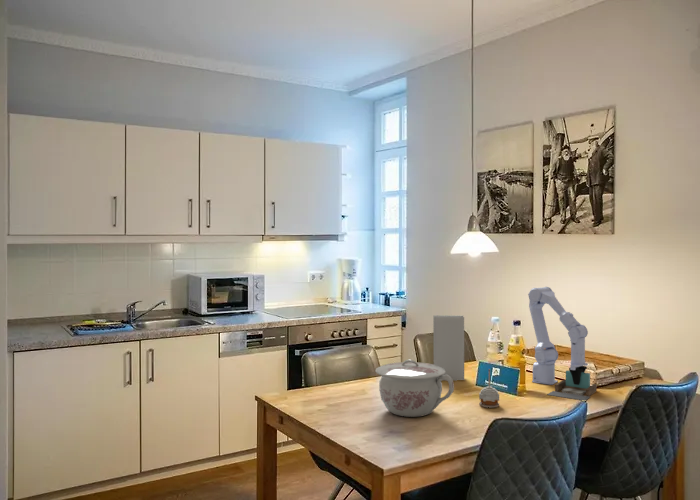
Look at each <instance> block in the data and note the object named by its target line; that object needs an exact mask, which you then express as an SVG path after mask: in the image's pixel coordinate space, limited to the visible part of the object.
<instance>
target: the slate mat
mask: <svg viewBox="0 0 700 500" xmlns="http://www.w3.org/2000/svg"><path fill="white" fill-rule="evenodd" d="M546 395H547V396H552V397H557V398H563V399H569V400H577V401H582V400H586V401H588V400H589V399H591V396H586V395H577V394H570V393H564V392H562V391H559V392H556V391H555V390H552V391H550V392H549V393H547V394H546Z"/></svg>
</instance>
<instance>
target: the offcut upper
mask: <svg viewBox="0 0 700 500" xmlns="http://www.w3.org/2000/svg"><path fill="white" fill-rule="evenodd" d="M561 392H563V393H564V392H566V393H572V394H576V395H577V394H578V395H583V396H585V395H586V394H585V393H586V391H584V390H578V389H572V388H564V389H562V390H561Z"/></svg>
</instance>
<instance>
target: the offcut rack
mask: <svg viewBox="0 0 700 500" xmlns="http://www.w3.org/2000/svg"><path fill="white" fill-rule="evenodd" d="M597 386H598V385H597V384H596V383H593V384H591V385H590V387H589V388H587V389H585V388H578V387H571V386H566V379H563V380H561V381H559V382H556V383H555V384H554V391H556V392H561V391H562V389H564V388H572V389H578V390H584V391H586V394H585V396H589V397H591V396H592V395H594V394H595V393H596V392H597Z"/></svg>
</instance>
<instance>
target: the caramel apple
mask: <svg viewBox="0 0 700 500" xmlns="http://www.w3.org/2000/svg"><path fill="white" fill-rule="evenodd" d="M478 394H479V395H478V397H479V398H478V399H479V400H480V401H479V406H480V407H484V408H488V407H489V408H490V409H491V408H498V407H500V403H499V401H500V393H499V391H498V390H497V389H496V388H495V387H493V386H491V369H490V368H488V386H486V387H483V388H482V389H481V390H480V392H479V393H478Z"/></svg>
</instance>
